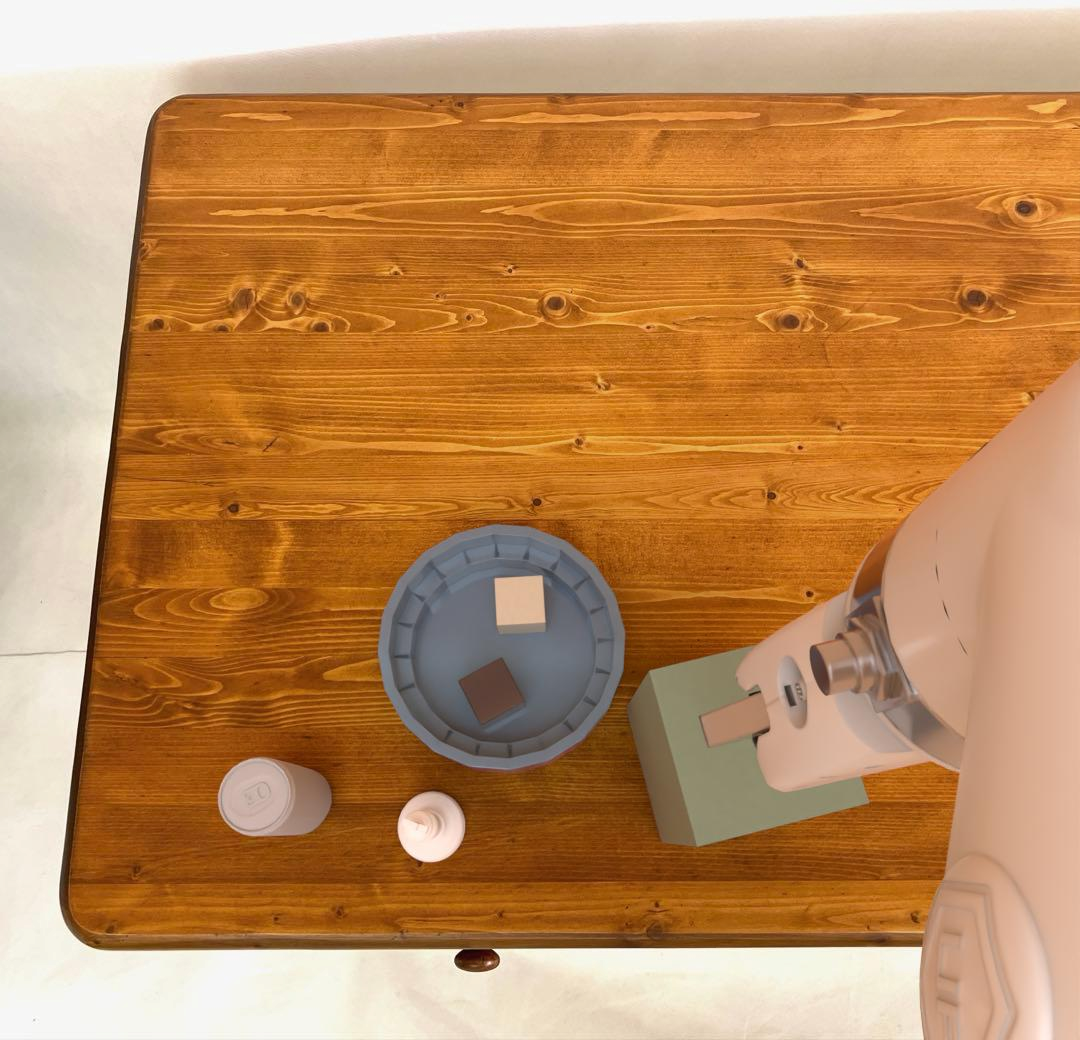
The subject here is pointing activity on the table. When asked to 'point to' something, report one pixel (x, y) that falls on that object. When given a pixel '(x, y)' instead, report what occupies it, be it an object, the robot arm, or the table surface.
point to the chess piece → (431, 826)
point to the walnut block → (492, 693)
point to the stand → (713, 760)
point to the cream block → (520, 604)
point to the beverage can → (273, 798)
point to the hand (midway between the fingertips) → (819, 714)
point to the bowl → (501, 648)
